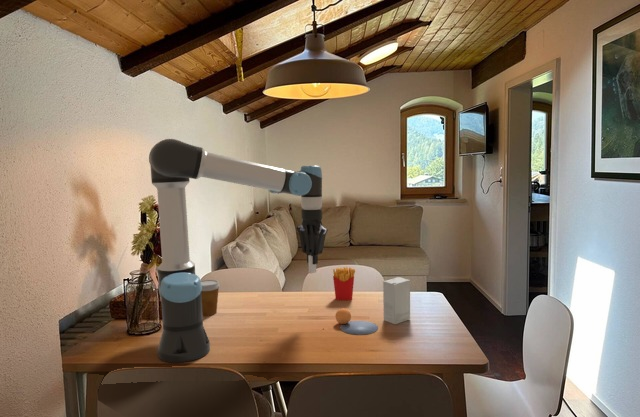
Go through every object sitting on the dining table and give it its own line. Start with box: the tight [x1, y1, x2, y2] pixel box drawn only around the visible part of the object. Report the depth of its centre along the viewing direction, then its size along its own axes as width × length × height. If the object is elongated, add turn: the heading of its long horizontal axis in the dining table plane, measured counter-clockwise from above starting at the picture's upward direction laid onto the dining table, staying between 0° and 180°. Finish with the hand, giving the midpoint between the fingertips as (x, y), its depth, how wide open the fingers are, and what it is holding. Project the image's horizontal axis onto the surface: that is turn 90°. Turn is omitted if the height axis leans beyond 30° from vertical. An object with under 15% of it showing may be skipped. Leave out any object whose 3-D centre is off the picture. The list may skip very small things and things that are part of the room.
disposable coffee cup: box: [201, 279, 221, 317], centre depth 176 cm, size 10×10×12 cm
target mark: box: [339, 320, 379, 336], centre depth 158 cm, size 13×13×1 cm
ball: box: [334, 307, 352, 325], centre depth 162 cm, size 6×6×6 cm
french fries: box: [332, 266, 356, 301], centre depth 191 cm, size 9×4×13 cm, turn 89°
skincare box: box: [382, 276, 411, 325], centre depth 164 cm, size 8×6×15 cm
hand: (312, 272), depth 168 cm, fingers closed
